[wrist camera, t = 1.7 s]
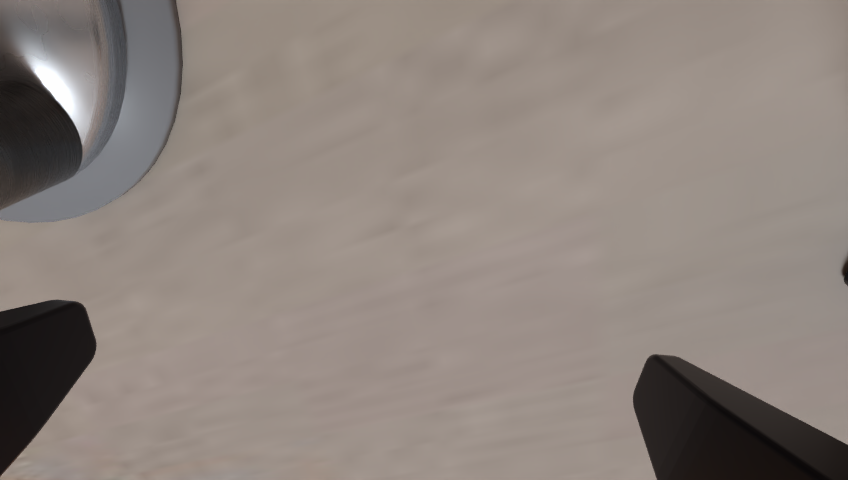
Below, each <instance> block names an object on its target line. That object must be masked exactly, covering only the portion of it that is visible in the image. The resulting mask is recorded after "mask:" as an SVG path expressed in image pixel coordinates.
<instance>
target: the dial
mask: <svg viewBox="0 0 848 480" xmlns="http://www.w3.org/2000/svg"><path fill="white" fill-rule="evenodd" d="M126 73H127V69H126V44H125V38H124V32H123V25H122V19H121V14H120V10H119V6H118V3H117V0H0V210H2V209H4V208H7V207H9V206H11V205H13V204H15V203H18V202H20V201H22V200H24V199H27V198H29V197H31V196H33V195H35V194H38V193H40V192H42V191H44V190H46V189H49V188H51V187H53V186H55V185H58V184H60V183H62V182H64V181H66V180H68V179H70V178H72V177H74V176H75V175H77V174H78V173H79V172H81V171H82V170H84V169H85V168H86V167H88V166H89V165H90V164H91V162H92V161H93V160H94V159H95V158H96V157H97V156H98V155H99V154H100V153H101V151H102V150H103V148H104V147H105V145H106V144H107V142H108V141H109V139H110V138H111V135H112V133H113V131H114V128H115V126H116V124H117V121H118V119H119V116H120V112H121V108H122V103H123V99H124V94H125V83H126Z"/></svg>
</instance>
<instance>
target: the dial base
mask: <svg viewBox="0 0 848 480" xmlns="http://www.w3.org/2000/svg"><path fill="white" fill-rule="evenodd" d="M117 3H118V6H119V10H120V14H121V19H122V25H123V32H124V38H125V44H126V69H127V73H126V83H125V94H124V99H123V103H122V108H121V112H120V116H119V119H118V121H117V124H116V126H115V128H114V131H113V133H112V135H111V138H110V139H109V141H108V142H107V144H106V145H105V147H104V148H103V150H102V151H101V153H100V154H99V155H98V156H97V157H96V158H95V159H94V160H93V161H92V162H91V164H90V165H89V166H88V167H86V168H85V169H84V170H82V171H81V172H79V173H78V174H77V175H75V176H74V177H72V178H70V179H68V180H66V181H64V182H62V183H60V184H58V185H55V186H53V187H51V188H49V189H46V190H44V191H42V192H40V193H38V194H35V195H33V196H31V197H29V198H27V199H24V200H22V201H20V202H18V203H15V204H13V205H11V206H9V207H7V208H4V209H2V210H0V219H1V220H6V221H17V222H29V223H32V222H54V221H59V220H64V219H70V218H75V217H78V216H81V215H84V214H86V213H89V212H92V211H95V210H97V209H99V208H100V207H102V206H104V205H106V204H108V203H109V202H111V201H113V200H115V199H116V198H118V197H120V196H122V195H123V194H125V193H126V192H127V191H128V190H130V189H131V188H132V187H133V186H135V185H136V184H137V183H138V182H139V181H141V179H142V178H143V177H144V176H145V175H146V173H147V172H148V171H149V170H150V169H151V167H152V166H153V165H154V164H155V162H156V161H157V159H158V157H159V155H160V154H161V152H162V150H163V148H164V147H165V145H166V143H167V140H168V138H169V135H170V132H171V130H172V127H173V124H174V122H175V118H176V113H177V109H178V104H179V99H180V94H181V80H182V66H183V62H182V45H181V30H180V25H179V19H178V13H177V7H176V2H175V0H117Z"/></svg>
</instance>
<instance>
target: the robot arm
mask: <svg viewBox="0 0 848 480" xmlns="http://www.w3.org/2000/svg"><path fill="white" fill-rule="evenodd" d="M844 282H845V284H846V285H847V286H848V271H847V273H846V275H845V277H844ZM95 351H96V339H95V336H94V333H93V330H92V327H91V323H90V320H89V317H88V314H87V311H86V308H85V307H84V306H83V305H82V304H81V303H79V302H76V301H65V300H50V301H45V302H41V303H37V304H32V305H28V306H23V307H19V308H15V309H10V310H6V311H2V312H0V476H1V475H2V474H3V473H4V472H5V471H6V470H7V468H8V467H9V466H10V465H11V464H12V463H13V462H14V461H15V459H16V458H17V457H18V456H19V455H20V454H21V453H22V452H23V450H24V449H25V448H26V447H27V446H28V445H29V443H30V442H31V441H32V440H33V439H34V438H35V436H36V435H37V434H38V433H39V431H40V430H41V429H42V427H43V426H44V425H45V423H46V422H47V421H48V419H49V418H50V417H51V415H52V414H53V413H54V411H55V410H56V409H57V407H58V406H59V404H60V403H61V402H62V400H63V399H64V398H65V396H66V395H67V394H68V392H69V391H70V389H71V388H72V387H73V385H74V384H75V383H76V381H77V380H78V379H79V377H80V376H81V375H82V373H83V372H84V370H85V369H86V368H87V366H88V365H89V364H90V362H91V361H92V359H93V357H94V355H95ZM633 405H634V410H635V413H636V416H637V419H638V422H639V426H640V429H641V432H642V435H643V438H644V441H645V444H646V447H647V450H648V453H649V457H650V460H651V463H652V466H653V469H654V472H655V475H656V478H657V480H848V445H847V444H845V443H843V442H841V441H839V440H837V439H835V438H833V437H832V436H830V435H828V434H826V433H824V432H822V431H820V430H818V429H816V428H814V427H812V426H810V425H808V424H806V423H805V422H803V421H801V420H799V419H797V418H795V417H793V416H791V415H789V414H787V413H785V412H783V411H781V410H779V409H778V408H776V407H774V406H772V405H770V404H768V403H766V402H764V401H762V400H760V399H758V398H756V397H754V396H753V395H751V394H749V393H747V392H745V391H743V390H741V389H739V388H737V387H735V386H733V385H731V384H729V383H727V382H726V381H724V380H722V379H720V378H718V377H716V376H714V375H712V374H710V373H708V372H706V371H704V370H702V369H700V368H699V367H697V366H695V365H693V364H691V363H689V362H687V361H685V360H683V359H681V358H679V357H676V356H669V355H658V354H654V355H651V356H650V357H649V358H648V359H647V361H646V363H645V365H644V368H643V370H642V373H641V375H640V378H639V380H638V383H637V385H636V388H635V390H634V395H633Z"/></svg>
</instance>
